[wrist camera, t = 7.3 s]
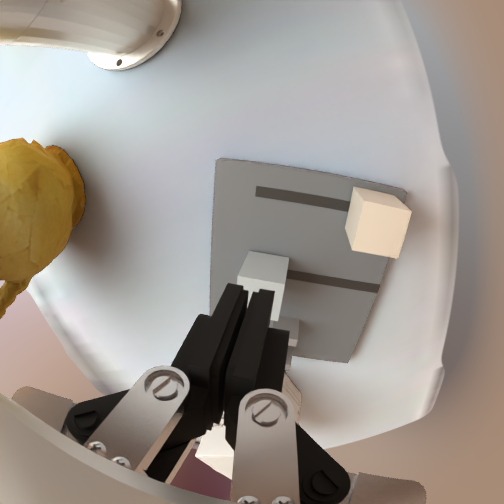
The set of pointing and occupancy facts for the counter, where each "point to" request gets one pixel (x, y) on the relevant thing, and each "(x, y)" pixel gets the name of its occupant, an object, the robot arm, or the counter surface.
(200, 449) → the supplement box
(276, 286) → the white cube
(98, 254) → the counter surface
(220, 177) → the panel
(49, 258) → the pitcher
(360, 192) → the cream slider
